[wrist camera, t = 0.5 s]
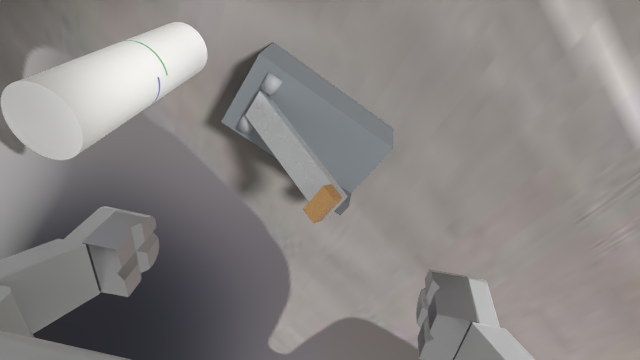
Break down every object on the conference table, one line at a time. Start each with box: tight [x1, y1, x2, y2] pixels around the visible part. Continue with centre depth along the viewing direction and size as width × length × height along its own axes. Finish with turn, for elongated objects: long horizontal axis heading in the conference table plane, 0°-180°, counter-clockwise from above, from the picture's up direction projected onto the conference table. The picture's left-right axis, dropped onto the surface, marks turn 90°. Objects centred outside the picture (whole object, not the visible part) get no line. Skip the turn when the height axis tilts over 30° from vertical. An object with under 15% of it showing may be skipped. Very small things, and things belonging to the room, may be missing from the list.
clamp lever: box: [245, 91, 348, 223], centre depth 45 cm, size 4×17×3 cm
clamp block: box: [221, 42, 393, 215], centre depth 51 cm, size 11×20×9 cm, turn 56°
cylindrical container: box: [1, 22, 207, 160], centre depth 42 cm, size 7×7×25 cm
